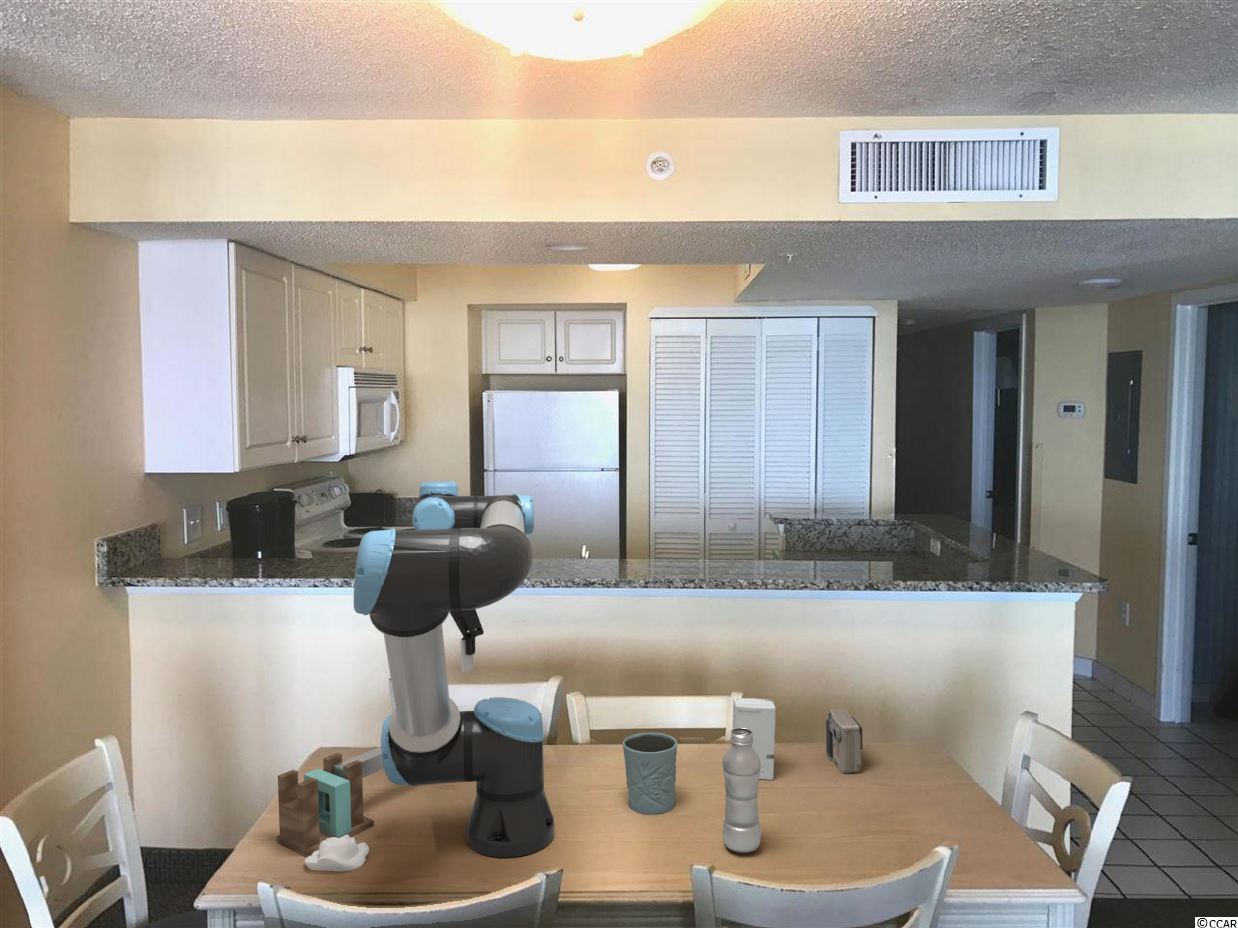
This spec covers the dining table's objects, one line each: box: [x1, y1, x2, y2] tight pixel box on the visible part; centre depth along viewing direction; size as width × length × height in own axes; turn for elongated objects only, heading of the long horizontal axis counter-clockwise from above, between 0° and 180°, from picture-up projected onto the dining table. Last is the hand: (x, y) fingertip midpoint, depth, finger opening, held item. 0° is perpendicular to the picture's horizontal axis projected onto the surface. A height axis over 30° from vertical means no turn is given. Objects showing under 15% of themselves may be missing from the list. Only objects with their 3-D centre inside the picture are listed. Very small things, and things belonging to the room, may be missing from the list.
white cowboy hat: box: [304, 835, 370, 872], centre depth 143 cm, size 10×4×10 cm
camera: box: [825, 708, 863, 774], centre depth 180 cm, size 11×6×10 cm, turn 0°
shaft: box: [334, 746, 384, 779], centre depth 164 cm, size 25×5×5 cm, turn 144°
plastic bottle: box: [721, 728, 762, 854], centre depth 145 cm, size 6×7×20 cm
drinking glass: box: [622, 731, 678, 816], centre depth 162 cm, size 10×10×12 cm
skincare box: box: [732, 697, 777, 781], centre depth 175 cm, size 8×6×15 cm
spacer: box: [303, 768, 351, 838], centre depth 152 cm, size 3×9×9 cm, turn 54°
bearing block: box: [275, 752, 375, 858], centre depth 152 cm, size 14×9×12 cm, turn 144°
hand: (442, 665), depth 173 cm, fingers open, 13 cm apart
